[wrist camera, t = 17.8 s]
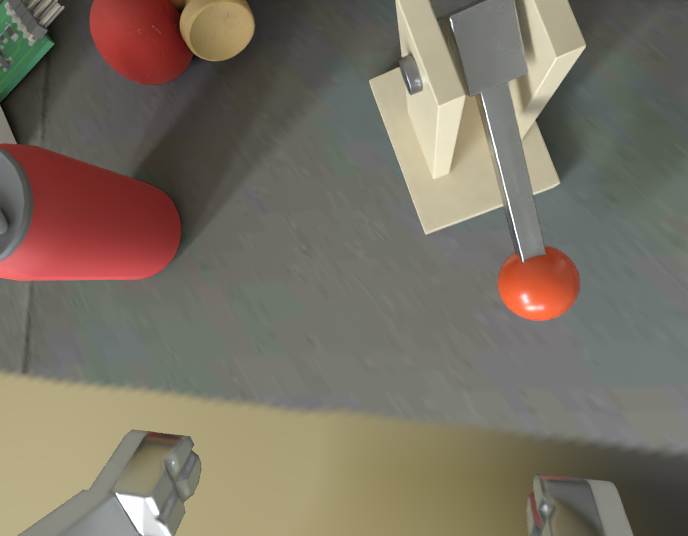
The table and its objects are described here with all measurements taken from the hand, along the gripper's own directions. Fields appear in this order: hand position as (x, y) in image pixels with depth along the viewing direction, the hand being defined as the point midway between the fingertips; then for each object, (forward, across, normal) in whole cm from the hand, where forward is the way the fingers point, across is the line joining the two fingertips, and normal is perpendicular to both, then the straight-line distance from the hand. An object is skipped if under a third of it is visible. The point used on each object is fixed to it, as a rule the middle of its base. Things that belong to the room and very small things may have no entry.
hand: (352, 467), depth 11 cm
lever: (+15, -5, -2) cm, 15 cm away
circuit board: (+26, +30, -6) cm, 40 cm away
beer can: (+19, +18, +4) cm, 26 cm away
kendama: (+28, +11, -8) cm, 31 cm away
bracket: (+22, -3, -1) cm, 22 cm away
